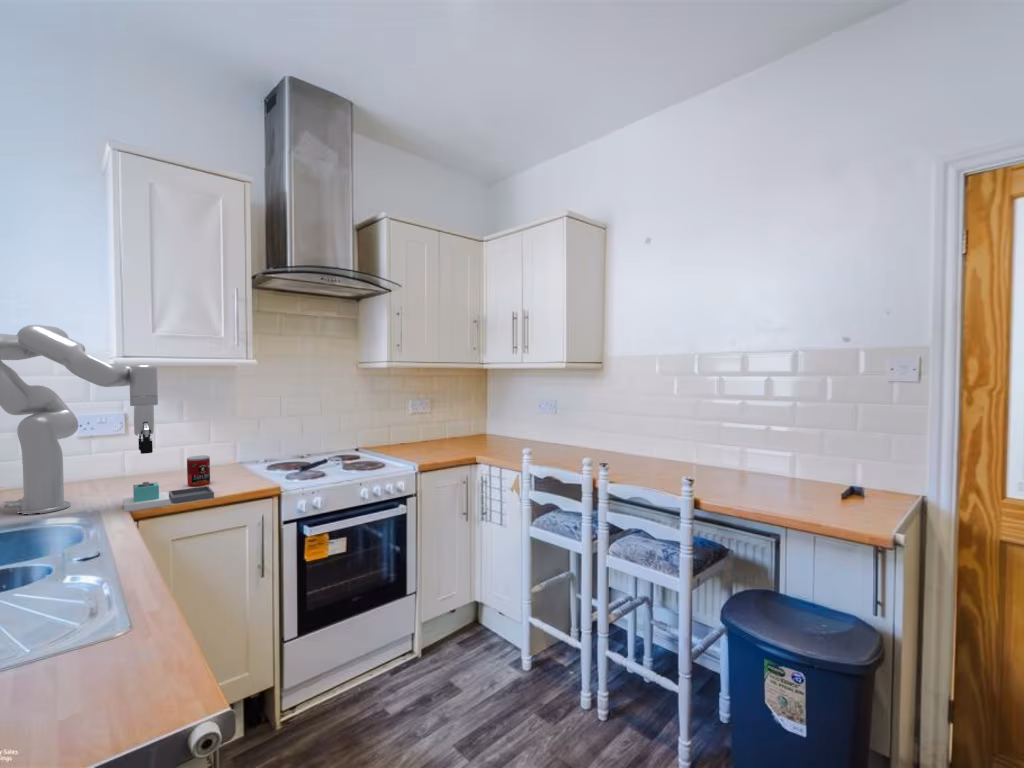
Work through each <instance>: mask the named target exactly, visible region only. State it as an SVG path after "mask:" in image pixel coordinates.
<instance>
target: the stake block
mask: <svg viewBox="0 0 1024 768" xmlns="http://www.w3.org/2000/svg"><path fill="white" fill-rule="evenodd" d="M149 483H150V481H144V482H142V484H143V487H146V486H149ZM122 501H123V511H124V512H132V511H137V510H144V509H151V508H157V507H163V506H170V504H171V503H170V502H171V500H170V498H169V494H167V492H165V491H164V492H159V499H154V500H147V501H140V502H134V496H128V497H127V496H126V497H122Z"/></svg>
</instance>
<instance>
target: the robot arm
mask: <svg viewBox="0 0 1024 768" xmlns="http://www.w3.org/2000/svg"><path fill="white" fill-rule="evenodd" d="M41 356H42V357H44V358H46V359H49V360H51V361H53V362H54V363H58V364H59V365H62V366H63V367H65V369H67V370H68V371H69V372H70V373H72V374H73V375H75V376H76V377H78V378H80V379H82V380H84V381H86V382H89V383H92V384H94V385H96V386H99V387H104V388H112V387H113V388H114V387H118V388H119V387H129V402H130V403H129V406H130V407H133V427H134V428H133V433H134V435H135V436H138V439H137V440H138V441H137V442H138V450H139V452H140V454H141V455H142V454H144V455H145V454H152V453H153V452H154V451H153V439H152V435H153V434H154V428H155V412H154V411H155V409H154V407H155V406H157V405H159V400H158V399H159V398H158V397H159V396H158V393H159V392H158V391H159V390H158V388H159V387H158V368H157V367H156V365H154V364H123V363H107V362H104V361H103V360H100V359H98V358H95V357H93V356H91V355H89V354H88V353H86V347H85V345H83V343H80V342H79V341H77V340H74V339H72V338H70V337H69V335H68V333H67V332H66V331H64V330H63V329H61V328H59V327H56V326H50V325H41V324H29V325H26V326H23V327H22V328H20V329H19V330H18V331H17V334H8V333H7V334H6V333H0V407H1V409H2V410H3V411H4V412H5V413H7V414H9V415H12V416H24V415H25V416H26V415H27V416H26V417H24V418H23V419H21V420H20V422H19V423H18V425H17V431H16V433H17V437H18V441H19V443H20V444H19V445H20V449H21V459H22V460H21V464H22V485H23V497H22V498H19V499H17V500H11V501H10V500H9V501H4V502H3V506H4V507H3V508H4V509H14V508H18V509H16V511H17V512H19V513H29V514H28V515H35V514H34V513H40V514H46V513H52V512H57V511H61V510H65V509H67V508H69V507H71V501H68V500H65V488H64V486H65V484H64V459H63V458H64V457H63V450H62V447H61V445H60V442H59V440H62V439H63V440H64V439H66V438H69V437H72V436H73V435H74V434H75V433H76V432H77V431H78V429H79V422H78V418H77V417H76V415H75V414H74V412H73V411H72V410H71V409H70V408H69V406H68V405H67V404H66V403H65V401H63V400H62V399H61V397H60V396H59V395H58V394H57V393H56V392H55V391H54V390H52V389H51V388H49V387H47V386H44V385H29V384H27V382H25V381H24V380H23V379H22V378H21V377H20V376H19V375H18V373H17V372H16V371H15V370H14V369H13V368H12V367H10V366H8V365H7V364H5V363H4V362H3V361H22V360H28V359H31V358H32V359H33V358H36V357H41ZM32 513H33V514H32Z"/></svg>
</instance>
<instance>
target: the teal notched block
mask: <svg viewBox="0 0 1024 768" xmlns="http://www.w3.org/2000/svg"><path fill="white" fill-rule="evenodd" d="M159 487H160V486H159V483H158V482H157V481H155V482H149V486H146V487H143V483H139V484H133V487H132V488H133V490H132V493H133V496H132V497H134V502H140V501H147V500H154V499H159V493H160V488H159Z"/></svg>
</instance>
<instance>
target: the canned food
mask: <svg viewBox="0 0 1024 768" xmlns="http://www.w3.org/2000/svg"><path fill="white" fill-rule="evenodd" d="M210 462H211V461H210V456H209V455H205V454H204V455H195V456H193V455H192V456H188V457H187V458H186V473H187V474H186V476H187V479H186V481H187V486H188V487H191V488H196V487H204V486H209V484H210V483H211V463H210Z"/></svg>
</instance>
